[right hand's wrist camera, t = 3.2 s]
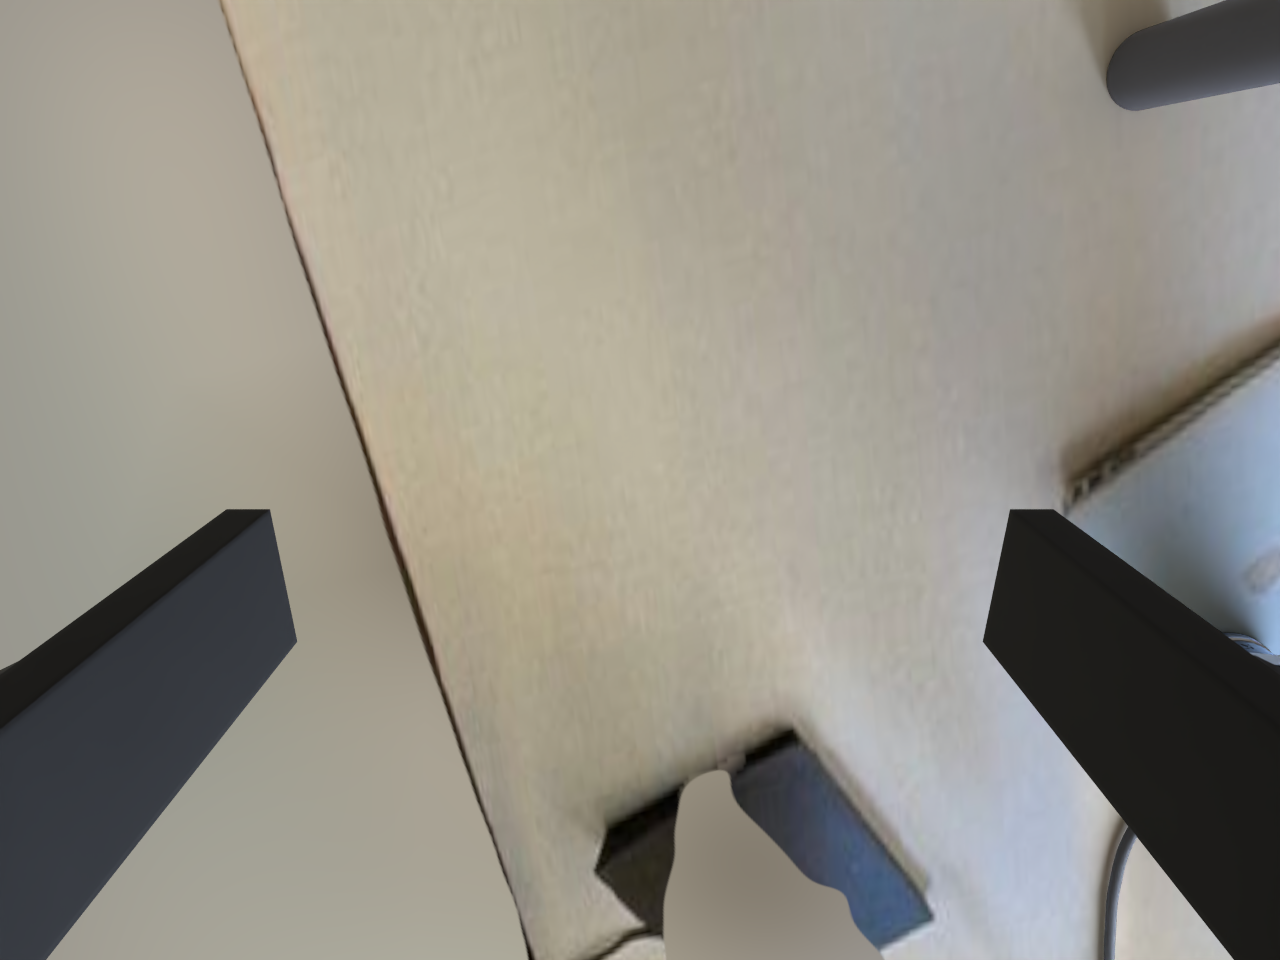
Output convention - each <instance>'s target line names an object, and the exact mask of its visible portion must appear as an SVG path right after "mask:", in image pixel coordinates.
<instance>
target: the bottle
mask: <svg viewBox="0 0 1280 960" xmlns="http://www.w3.org/2000/svg"><path fill="white" fill-rule="evenodd" d="M1277 83H1280V0H1225V1H1223V2H1220V3H1217V4H1214V5H1211V6H1208V7H1206V8H1203V9H1200V10H1197V11H1194V12H1191V13H1189V14H1186V15H1183V16H1180V17H1177V18H1174V19H1172V20H1169V21H1166V22H1163V23H1160V24H1157V25H1155V26H1152V27H1149V28H1146V29H1143V30H1141V31H1138V32H1136V33H1134V34H1133V35H1131V36H1130V37H1129V38H1127V39H1126V40H1125V41H1124V42H1123V43H1122V44H1121V45H1120V46H1119V48H1118V49H1117V50H1116V52H1115V54H1114V55H1113V57H1112V59H1111V62H1110V64H1109V67H1108V72H1107V86H1108V91H1109V94H1110V96H1111V97H1112V99H1113V100H1114V101H1115V103H1116V104H1118V105H1119V106H1120V107H1122V108H1124V109H1127V110H1144V109H1149V108H1154V107H1159V106H1164V105H1169V104H1174V103H1180V102H1185V101H1190V100H1195V99H1200V98H1205V97H1210V96H1216V95H1221V94H1226V93H1231V92H1236V91H1241V90H1246V89H1252V88H1257V87H1262V86H1267V85H1272V84H1277Z"/></svg>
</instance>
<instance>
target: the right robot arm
mask: <svg viewBox="0 0 1280 960" xmlns="http://www.w3.org/2000/svg"><path fill="white" fill-rule="evenodd" d="M296 642H297V639H296V634H295V629H294V624H293V619H292V614H291V610H290V605H289V600H288V595H287V590H286V586H285V581H284V576H283V571H282V566H281V561H280V556H279V552H278V547H277V542H276V537H275V532H274V527H273V523H272V518H271V513H270V510H269V509H227V510H225V511H224V512H222V513H221V514H220V515H218V516H217V517H216V518H214V519H213V520H212V521H210V522H209V523H207V524H206V525H205V526H203V527H202V528H201V529H199V530H198V531H196V532H195V533H194V534H192V535H191V536H190V537H188V538H187V539H185V540H184V541H183V542H181V543H180V544H179V545H177V546H176V547H175V548H173V549H172V550H171V551H169V552H168V553H166V554H165V555H164V556H162V557H161V558H159V559H158V560H157V561H155V562H154V563H153V564H151V565H150V566H149V567H147V568H146V569H144V570H143V571H142V572H140V573H139V574H138V575H136V576H135V577H134V578H132V579H131V580H129V581H128V582H127V583H125V584H124V585H123V586H121V587H120V588H118V589H117V590H116V591H114V592H113V593H112V594H110V595H109V596H107V597H106V598H105V599H103V600H102V601H101V602H99V603H98V604H97V605H95V606H94V607H93V608H91V609H90V610H88V611H87V612H86V613H84V614H83V615H81V616H80V617H79V618H77V619H76V620H75V621H73V622H72V623H71V624H69V625H68V626H66V627H65V628H64V629H62V630H61V631H60V632H58V633H57V634H55V635H54V636H53V637H51V638H50V639H49V640H47V641H46V642H44V643H43V644H42V645H40V646H39V647H38V648H36V649H35V650H34V651H32V652H31V653H29V654H28V655H27V656H25V657H24V658H23V659H21V660H20V661H18V662H16V663H14V664H12V665H10V666H8V667H6V668H4V669H2V670H0V960H46V959H47V958H48V956H49V955H50V954H51V953H52V951H53V950H54V949H55V948H56V946H57V945H58V944H59V942H60V941H61V940H62V939H63V937H64V936H65V935H66V934H67V932H68V931H69V930H70V929H71V927H72V926H73V925H74V923H75V922H76V921H77V920H78V918H79V917H80V916H81V915H82V913H83V912H84V911H85V910H86V908H87V907H88V906H89V904H90V903H91V902H92V901H93V899H94V898H95V897H96V896H97V894H98V893H99V892H100V891H101V889H102V888H103V887H104V885H105V884H106V883H107V882H108V880H109V879H110V878H111V877H112V875H113V874H114V873H115V872H116V870H117V869H118V868H119V867H120V865H121V864H122V863H123V861H124V860H125V859H126V858H127V856H128V855H129V854H130V853H131V851H132V850H133V849H134V848H135V846H136V845H137V844H138V842H139V841H140V840H141V839H142V837H143V836H144V835H145V834H146V832H147V831H148V830H149V828H150V827H151V826H152V825H153V824H154V822H155V821H156V820H157V818H158V817H159V816H160V815H161V813H162V812H163V811H164V810H165V808H166V807H167V806H168V805H169V803H170V802H171V801H172V799H173V798H174V797H175V796H176V794H177V793H178V792H179V791H180V789H181V788H182V787H183V786H184V784H185V783H186V782H187V780H188V779H189V778H190V777H191V775H192V774H193V773H194V772H195V770H196V769H197V768H198V767H199V765H200V764H201V763H202V761H203V760H204V759H205V758H206V756H207V755H208V754H209V753H210V751H211V750H212V749H213V748H214V746H215V745H216V744H217V742H218V741H219V740H220V739H221V737H222V736H223V735H224V734H225V732H226V731H227V730H228V728H229V727H230V726H231V725H232V723H233V722H234V721H235V720H236V718H237V717H238V716H239V715H240V713H241V712H242V711H243V709H244V708H245V707H246V706H247V704H248V703H249V702H250V701H251V699H252V698H253V697H254V696H255V694H256V693H257V692H258V691H259V689H260V688H261V687H262V685H263V684H264V683H265V682H266V680H267V679H268V678H269V677H270V675H271V674H272V673H273V671H274V670H275V669H276V668H277V666H278V665H279V664H280V663H281V661H282V660H283V659H284V658H285V656H286V655H287V654H288V653H289V651H290V650H291V649H292V647H293V646H294V645H295V644H296ZM983 642H984V644H985V645H986V646H987V647H988V649H989V650H990V651H991V653H992V654H993V655H994V656H995V658H996V659H997V660H998V661H999V663H1000V664H1001V665H1002V666H1003V668H1004V669H1005V670H1006V672H1007V673H1008V674H1009V675H1010V677H1011V678H1012V679H1013V680H1014V682H1015V683H1016V684H1017V685H1018V687H1019V688H1020V689H1021V691H1022V692H1023V693H1024V694H1025V696H1026V697H1027V698H1028V699H1029V701H1030V702H1031V703H1032V704H1033V706H1034V707H1035V708H1036V710H1037V711H1038V712H1039V713H1040V715H1041V716H1042V717H1043V718H1044V720H1045V721H1046V722H1047V723H1048V725H1049V726H1050V727H1051V729H1052V730H1053V731H1054V732H1055V734H1056V735H1057V736H1058V737H1059V739H1060V740H1061V741H1062V742H1063V744H1064V745H1065V746H1066V748H1067V749H1068V750H1069V751H1070V753H1071V754H1072V755H1073V756H1074V758H1075V759H1076V760H1077V761H1078V763H1079V764H1080V765H1081V767H1082V768H1083V769H1084V770H1085V772H1086V773H1087V774H1088V775H1089V777H1090V778H1091V779H1092V780H1093V782H1094V783H1095V784H1096V786H1097V787H1098V788H1099V789H1100V791H1101V792H1102V793H1103V794H1104V796H1105V797H1106V798H1107V799H1108V801H1109V802H1110V803H1111V805H1112V806H1113V807H1114V808H1115V810H1116V811H1117V812H1118V813H1119V815H1120V816H1121V817H1122V818H1123V820H1124V821H1125V822H1126V824H1127V825H1128V826H1129V827H1130V829H1131V830H1132V831H1133V832H1134V834H1135V835H1136V836H1137V837H1138V839H1139V840H1140V841H1141V843H1142V844H1143V845H1144V846H1145V848H1146V849H1147V850H1148V851H1149V853H1150V854H1151V855H1152V856H1153V858H1154V859H1155V860H1156V861H1157V863H1158V864H1159V865H1160V867H1161V868H1162V869H1163V870H1164V872H1165V873H1166V874H1167V875H1168V877H1169V878H1170V879H1171V880H1172V882H1173V883H1174V884H1175V886H1176V887H1177V888H1178V889H1179V891H1180V892H1181V893H1182V894H1183V896H1184V897H1185V898H1186V899H1187V901H1188V902H1189V903H1190V905H1191V906H1192V907H1193V908H1194V910H1195V911H1196V912H1197V913H1198V915H1199V916H1200V917H1201V918H1202V920H1203V921H1204V922H1205V924H1206V925H1207V926H1208V927H1209V929H1210V930H1211V931H1212V932H1213V934H1214V935H1215V936H1216V937H1217V939H1218V940H1219V941H1220V943H1221V944H1222V945H1223V946H1224V948H1225V949H1226V950H1227V951H1228V953H1229V954H1230V955H1231V956H1232V958H1233V959H1234V960H1280V667H1278V666H1276V665H1274V664H1272V663H1270V662H1268V661H1266V660H1264V659H1262V658H1260V657H1258V656H1256V655H1252V654H1251V653H1249V652H1248V651H1246V650H1245V649H1244V648H1242V647H1241V646H1240V645H1238V644H1237V643H1236V642H1234V641H1233V640H1231V639H1230V638H1229V637H1227V636H1226V635H1225V634H1223V633H1222V632H1220V631H1219V630H1218V629H1216V628H1215V627H1214V626H1212V625H1211V624H1210V623H1208V622H1207V621H1205V620H1204V619H1203V618H1201V617H1200V616H1199V615H1197V614H1196V613H1194V612H1193V611H1192V610H1190V609H1189V608H1188V607H1186V606H1185V605H1183V604H1182V603H1181V602H1179V601H1178V600H1177V599H1175V598H1174V597H1173V596H1171V595H1170V594H1168V593H1167V592H1166V591H1164V590H1163V589H1162V588H1160V587H1159V586H1157V585H1156V584H1155V583H1153V582H1152V581H1151V580H1149V579H1148V578H1147V577H1145V576H1144V575H1142V574H1141V573H1140V572H1138V571H1137V570H1136V569H1134V568H1133V567H1131V566H1130V565H1129V564H1127V563H1126V562H1125V561H1123V560H1122V559H1121V558H1119V557H1118V556H1116V555H1115V554H1114V553H1112V552H1111V551H1110V550H1108V549H1107V548H1105V547H1104V546H1103V545H1101V544H1100V543H1099V542H1097V541H1096V540H1095V539H1093V538H1092V537H1090V536H1089V535H1088V534H1086V533H1085V532H1084V531H1082V530H1081V529H1079V528H1078V527H1077V526H1075V525H1074V524H1073V523H1071V522H1070V521H1069V520H1067V519H1066V518H1064V517H1063V516H1062V515H1060V514H1059V513H1058V512H1056V511H1055V510H1053V509H1010V513H1009V518H1008V523H1007V527H1006V532H1005V537H1004V542H1003V547H1002V552H1001V556H1000V561H999V566H998V571H997V576H996V581H995V585H994V590H993V595H992V600H991V605H990V610H989V614H988V619H987V624H986V629H985V634H984V639H983Z"/></svg>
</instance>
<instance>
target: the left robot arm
mask: <svg viewBox="0 0 1280 960" xmlns="http://www.w3.org/2000/svg"><path fill="white" fill-rule="evenodd" d="M1223 634H1225V635H1226V636H1227V637H1229V638H1230V639H1231V640H1233V641H1234V642H1236V643H1237V644H1238V645H1240V646H1241V647H1242V648H1244V649H1245V650H1246V651H1248V652H1249V653H1251V654H1252V655H1256V656H1258V657H1260V658H1262V659H1264V660H1266V661H1268V662H1270V663H1272V664H1274V665H1276V666H1278V667H1280V655H1274V654H1272V653H1271V652H1270V650H1269V649H1267V648H1266V647H1265V646H1263V645H1262V644H1261V643H1259V642H1258V641H1256V640H1255V639H1253V638H1251V637H1249V636H1246V635H1242V634H1236V633H1223ZM1136 838H1137V836H1136V835H1135V834H1134V832H1133V831H1132V830H1131V829H1130V827H1129V826H1128V828H1127V830H1126V832H1125V834H1124V836H1123V838H1122V840H1121V842H1120V844H1119V847H1118V849H1117V852H1116V855H1115V859H1114V863H1113V867H1112V872H1111V877H1110V881H1109V886H1108V892H1107V900H1106V915H1105V935H1104V960H1115V936H1116V918H1117V905H1118V898H1119V892H1120V887H1121V883H1122V878H1123V873H1124V869H1125V865H1126V862H1127V859H1128V856H1129V853H1130V851H1131V848H1132V846H1133V844H1134V842H1135V840H1136Z"/></svg>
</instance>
